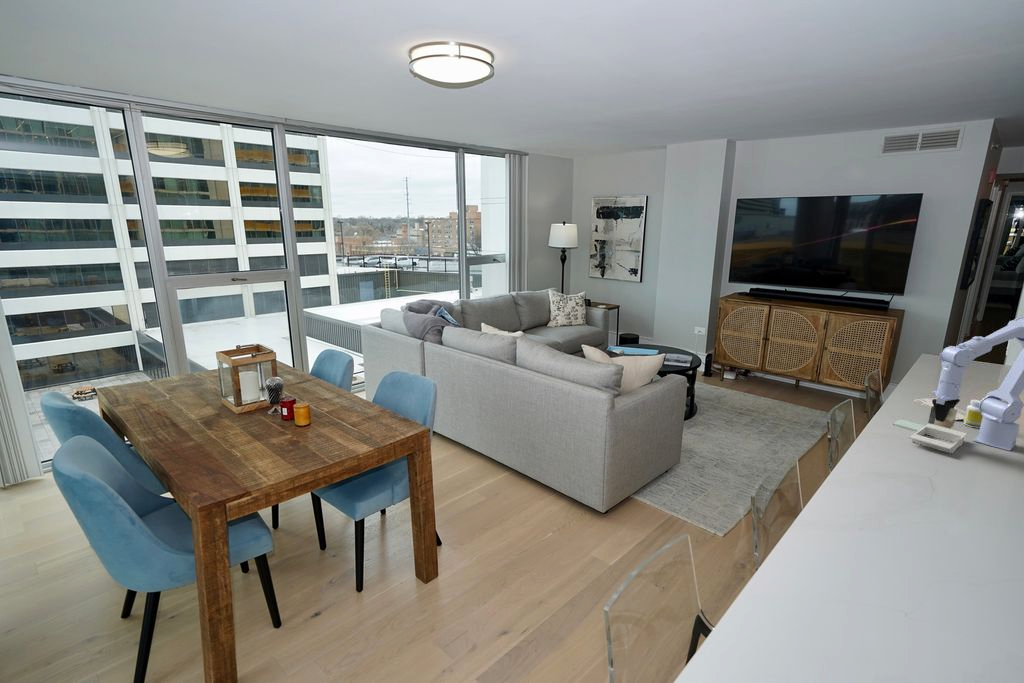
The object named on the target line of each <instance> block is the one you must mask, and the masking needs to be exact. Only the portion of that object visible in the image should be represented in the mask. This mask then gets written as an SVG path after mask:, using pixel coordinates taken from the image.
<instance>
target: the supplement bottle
mask: <svg viewBox="0 0 1024 683" xmlns="http://www.w3.org/2000/svg"><path fill="white" fill-rule="evenodd" d="M980 401H981V400H979V399H971V400H970V404H969V405H967V406H966V409H965V411H966V412H965V417H964V419H963V421H962V424H963V425H964V424H965V426H966V425H967V426H966V427H969V426H970V427H969V428H972V427H976V428H975V429H980V426H981V422H982V418H983V415H981V413H982V412H981V411H980V410H979V403H980Z"/></svg>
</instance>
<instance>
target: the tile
mask: <svg viewBox="0 0 1024 683" xmlns="http://www.w3.org/2000/svg"><path fill="white" fill-rule="evenodd" d="M892 425H893V426H895V427H896V426H897V427H900V428H903V429H907V430H911V431H914V432H917V431H919V430H920V429H921V428H923V427H924V426H925V425H923V424H919V423H916V422H912V421H909V420H905V419H901V418H899V419H898V420H896V421H894V422H893V423H892Z"/></svg>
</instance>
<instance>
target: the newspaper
mask: <svg viewBox="0 0 1024 683" xmlns="http://www.w3.org/2000/svg"><path fill="white" fill-rule="evenodd" d="M933 399H937V397H935V398H934V397H931V398H929V397H928V398H927V397H925V398H917V399H913V402H915V403H917V404H919V405H921V406H923V407H925V406H926V407H925V408H927V409H929V408H930V409H929V410H931V407H932V406H934V405H933V403H932V400H933ZM953 409H957V413H956V418H955V421H957V420H964V417H965V412H966V410H965V409H964V410H963V409H962V408H959V407H957V406H955V407H954V408H953Z"/></svg>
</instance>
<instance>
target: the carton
mask: <svg viewBox="0 0 1024 683" xmlns="http://www.w3.org/2000/svg"><path fill="white" fill-rule="evenodd" d="M925 434H927V435H926V436H924V435H925ZM928 435H930V436H929V437H927V436H928ZM932 436H934V437H933V438H930V437H932ZM966 436H968V433H966V432H962V431H959V430H955V429H952V428H950V429H949V428H945V427H941V426H938V425H934V424H930V423H928V422H927V424H925V425H924V427H923V428H921V429H920V430H919V431H915V432H914V433H913V434H912V435H910V436H909V437H908V438H909V439H912V440H911V443H913V442H915V443H914V444H917V443H918V444H917V445H920V444H922V445H921V446H924V445H926V446H925V447H927V446H929V447H928V448H930V447H932V448H931V449H934V448H936V449H935V450H937V449H939V450H938V451H941V450H942V452H944V451H946V452H945V453H948V452H949V454H951V453H952V454H954V453H955V451H956V449H957V448H958V447H959V446H960V447H961V446H963V443H964V439H965V437H966ZM936 437H938V438H937V439H935V438H936ZM939 438H941V439H940V440H938V439H939ZM943 439H944V441H941V440H943ZM946 440H948V441H947V442H945V441H946ZM950 441H952V442H951V443H948V442H950ZM954 442H955V443H954ZM960 447H959V448H960ZM959 448H958V449H959ZM958 449H957V450H958Z"/></svg>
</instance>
